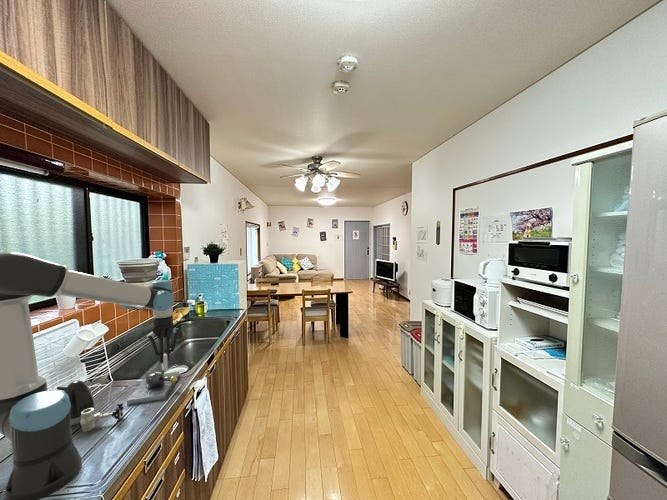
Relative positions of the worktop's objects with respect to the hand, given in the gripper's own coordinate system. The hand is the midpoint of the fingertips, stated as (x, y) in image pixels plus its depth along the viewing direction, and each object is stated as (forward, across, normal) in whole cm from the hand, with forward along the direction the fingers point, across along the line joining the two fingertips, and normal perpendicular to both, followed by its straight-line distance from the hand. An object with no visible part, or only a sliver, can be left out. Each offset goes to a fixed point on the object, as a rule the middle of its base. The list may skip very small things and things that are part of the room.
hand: (164, 369), depth 125 cm
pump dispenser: (+12, +28, -6) cm, 31 cm away
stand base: (+11, +1, -8) cm, 13 cm away
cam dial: (+8, 0, -5) cm, 10 cm away
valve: (+12, +23, +5) cm, 26 cm away
